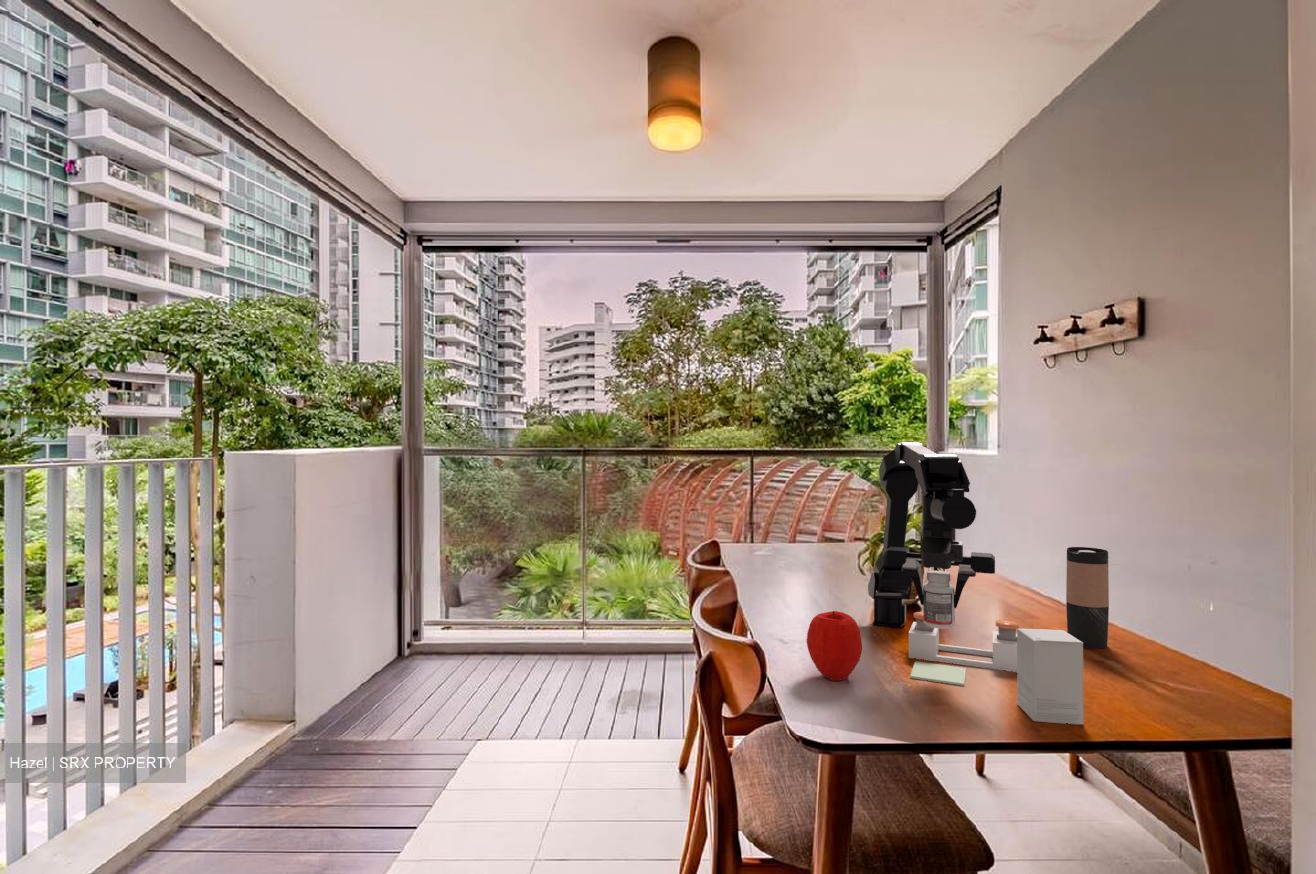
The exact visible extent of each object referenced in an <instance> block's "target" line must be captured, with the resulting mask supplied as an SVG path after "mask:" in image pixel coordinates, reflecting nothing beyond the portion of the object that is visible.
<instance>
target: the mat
mask: <svg viewBox="0 0 1316 874" xmlns="http://www.w3.org/2000/svg"><path fill="white" fill-rule="evenodd" d="M911 669H912V670H911V673H910V675H909V678H910V679H914V680H921V681H927V680H928V681H927V682H933V683H934V682H935V683H941V682H943V684H947V683H948V684H949V685H954V684H955V685H956V686H962V687H965V682H966V676H967V675H966V674H967V668H966V667H959V666H952V665H944V664H937V663H930V662H922V661H914V663H913V666H912V668H911Z"/></svg>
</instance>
